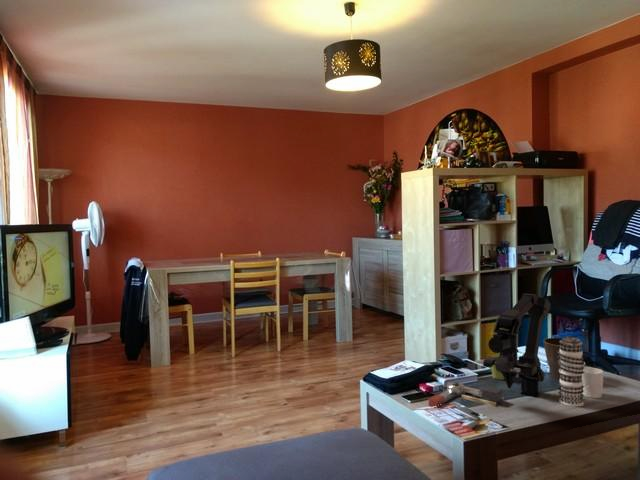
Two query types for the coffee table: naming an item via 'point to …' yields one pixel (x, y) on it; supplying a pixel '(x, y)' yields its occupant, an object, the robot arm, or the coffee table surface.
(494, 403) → the guide rails
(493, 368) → the plant pot
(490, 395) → the socket
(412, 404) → the coffee table surface
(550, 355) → the plant pot
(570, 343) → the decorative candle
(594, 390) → the white cup
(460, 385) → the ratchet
